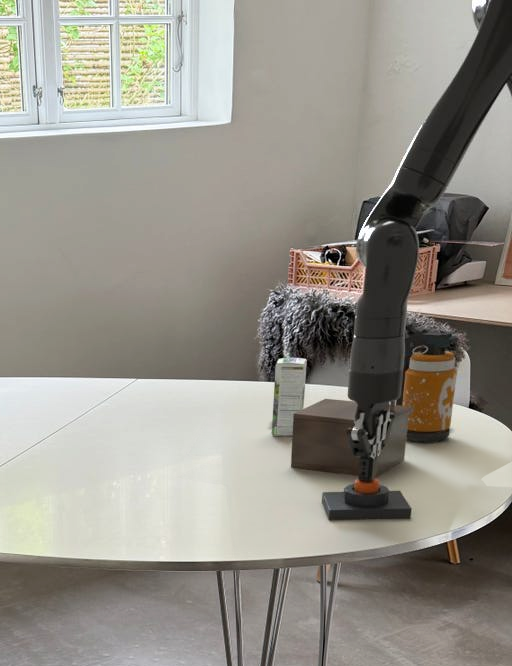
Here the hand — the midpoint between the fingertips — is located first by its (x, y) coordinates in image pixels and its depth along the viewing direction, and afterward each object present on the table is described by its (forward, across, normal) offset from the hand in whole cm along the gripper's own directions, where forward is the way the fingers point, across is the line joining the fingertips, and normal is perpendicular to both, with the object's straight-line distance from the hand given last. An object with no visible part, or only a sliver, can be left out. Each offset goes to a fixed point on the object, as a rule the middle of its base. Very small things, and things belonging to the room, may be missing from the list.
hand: (366, 480), depth 147 cm
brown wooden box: (+5, +23, +13) cm, 27 cm away
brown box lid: (-4, +23, +13) cm, 26 cm away
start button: (+2, 0, 0) cm, 2 cm away
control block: (+5, 0, 0) cm, 5 cm away
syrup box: (+5, +38, +33) cm, 50 cm away
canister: (+5, +45, +8) cm, 46 cm away
